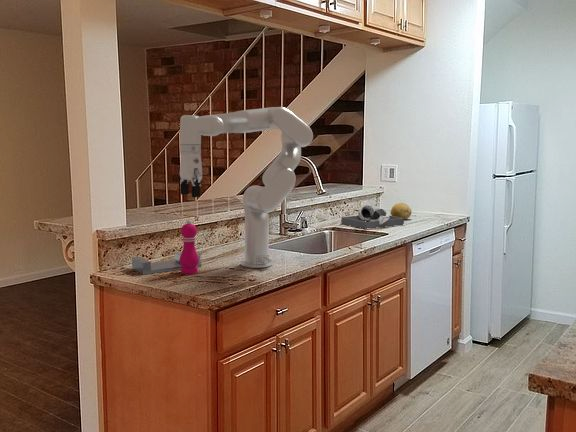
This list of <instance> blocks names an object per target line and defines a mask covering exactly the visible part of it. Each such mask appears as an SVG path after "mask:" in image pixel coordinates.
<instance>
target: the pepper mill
mask: <svg viewBox="0 0 576 432" xmlns="http://www.w3.org/2000/svg"><path fill="white" fill-rule="evenodd" d="M180 234H181V235H182V237H181V238H182V242H183V246H182V247H183V248H182V251H181V252H182V253H181V252H180V253H181V256H180V264H181V265H182V267H181V270H180V273H181V274H184V275H194V274H198V272H199V269H198V268H199V267H196V266H197V265H198V263H199V257H198V255H199V254H198V252H197V250H196V244H195V243H196V240H197V237H196V235H197V234H198V228H197V226H196V225H195V224H192V220H191V219H187V220H186V224H185V223H184V224H183V225H182V226H181V228H180Z"/></svg>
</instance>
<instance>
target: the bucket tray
mask: <svg viewBox="0 0 576 432" xmlns="http://www.w3.org/2000/svg"><path fill="white" fill-rule="evenodd" d="M389 216H390V218H389V220H387V221H386V222H384V223H382V224H381V225H379V223H380V221H371V220H370V219H369V220H367V221H369V222H365V221H362V220H361V219H360V218H359V216H358V215H351V216H342V217H341V219H340V220H341V223H340V224H341V225H343V224H345V225H344V226H348V225H351V226H350V227H352V226H356V227H355V228H357V227H361V228H360V229H362V228H366V229H367V228H375V229H377V228H376V227H383V228H386V227H385V226H392V227H395V226H394V225H400V226H404V225H403V224H404V223H405V219H404V218H400V217H395V216H391V215H389ZM366 229H365V230H366ZM367 230H368V229H367Z"/></svg>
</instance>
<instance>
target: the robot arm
mask: <svg viewBox="0 0 576 432" xmlns="http://www.w3.org/2000/svg"><path fill="white" fill-rule="evenodd" d="M179 122H180V123H179V127H180V129H179V130H180V131H179V134H180V135H179V153H180V161H179V162H180V163H179V164H180V165H179V172H178V173H179V183H180V186H179V187H180V190H179V192H180V193H179V194H180V195H181V196H182V195H189V193H190V192H191V198H200V197H201V185H202V184H201V183H202V179H203V164H202V163H203V162H202V161H203V160H202V154H201V153H202V150H201V149H202V148H201V147H202V136H203V137H204V136H205V137H207V136H208V137H216V136H219V135H220V134H231V133H234V134H246V133H253V132H254V133H255V132H263V131H270V130H279V131H281V132H280V133H281V135H280V138H281V139H280V140H281V151H280V153H279V154H278V155H277V156H276V158H275V159H274V160H273V162H272V163H271V164H270V165H269V166H268V167H267V169H266V170H265V171H264V172H263V174H262V176H261V177H262V178H261V179H262V183H263V185H264V186H260V185H251V186H248V187H247V188H246V190H245V191H244V193H243V195H242V204H243V209H244V210H243V212H244V259H242V260H241V261H240V265H241V266H242V267H244V268H245V267H246V268H251V269H260V268H261V269H262V268H269V267H271V266H272V265H273V260H272V259H270V254H269V246H270V245H269V242H270V241H269V240H270V239H269V237H270V233H269V232H270V230H269V229H270V227H269V226H270V224H269V223H270V218H269V217H270V216H269V213H271V212H274V211H275V210H277V208H278V207H279V206H280V205H281V203H282V202H283V201H284V200H285V199H286V198H287V197H288V195H289V194H290V193H291V191H293V189H294V187H295V184H296V182H297V179H296V178H297V177H296V174H295V169H296V168H297V167H298V165H299V164H300V162H301V157H302V148H305V147H307V146H309V145H310V144H311V143H312V141H313V140H314V134H313V131H312V128H311V127H310V126H309V125H308V124H307V123H306V122H304V121H303V120H302V119H301V118H299V117H298V116H297V115H296V114H295V113H293V112H292V111H291V110H289V109H288V108H286V107H284V106H271V107H264V108H263V107H262V108H253V109H243V110H237V111H232V112H226V113H218V114H217V113H216V114H210V115H208V114H207V115H202V116H201V115H200V116H199V115H193V114H192V115H191V114H190V115H189V114H184V115H182V116H181V117H180V121H179ZM189 182H191V191H190V184H189Z"/></svg>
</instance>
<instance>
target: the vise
mask: <svg viewBox="0 0 576 432" xmlns="http://www.w3.org/2000/svg"><path fill="white" fill-rule="evenodd" d="M181 267H182V265H181V264H180V262H178V261H176V260H174V259H173V260H164V261H158V262H157V261H156V262H152V261H150V260H147V259H146V258H144V257H141V256H133V257H131V269H132V270H134V271H135V272H138V273H140V274H141V275H143V276H144V275H151V274H159V273H165V272H166V273H167V272H173V271H181ZM196 267H198V268H200V267H201V268H202V267H203V264H202V263H201V262H200V263H198V265H197V266H196Z"/></svg>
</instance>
